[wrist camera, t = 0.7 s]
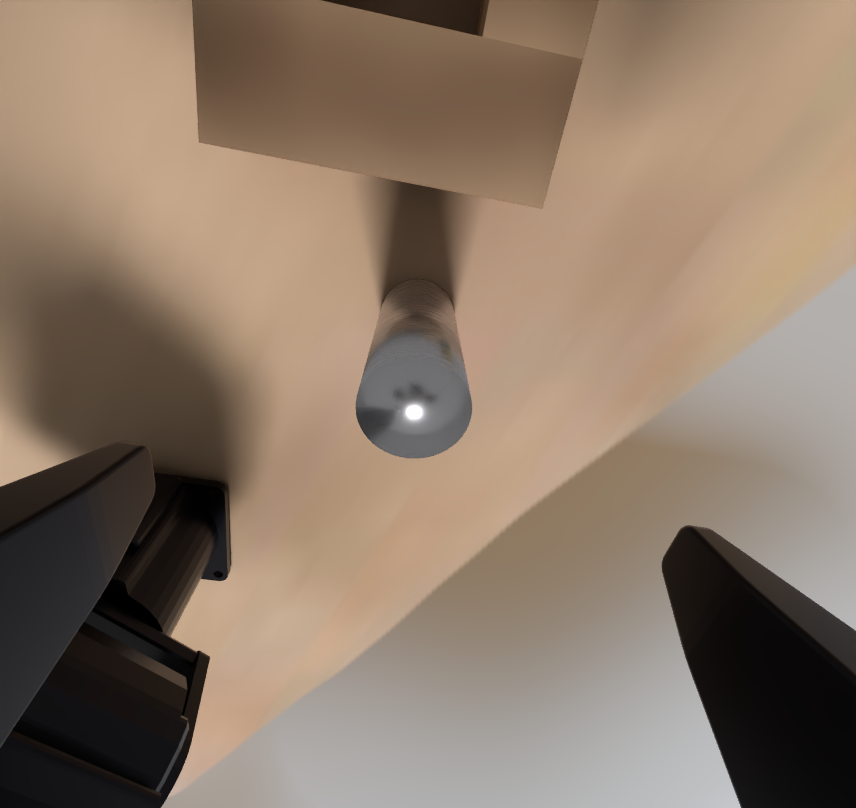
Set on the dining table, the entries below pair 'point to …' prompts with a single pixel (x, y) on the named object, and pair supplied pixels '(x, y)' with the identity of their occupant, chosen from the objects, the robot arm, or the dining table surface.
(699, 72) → the dining table surface
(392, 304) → the peg
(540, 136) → the hole block
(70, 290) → the dining table surface
